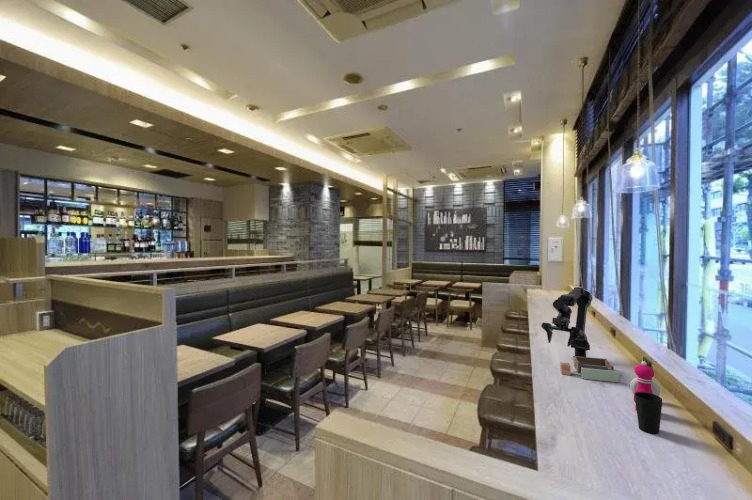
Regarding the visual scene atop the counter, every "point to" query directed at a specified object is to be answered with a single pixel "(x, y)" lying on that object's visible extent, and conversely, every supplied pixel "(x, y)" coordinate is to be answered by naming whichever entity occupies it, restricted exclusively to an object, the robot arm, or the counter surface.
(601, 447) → the counter surface
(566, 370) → the block
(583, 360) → the sleeve
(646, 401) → the cup
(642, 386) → the pepper mill
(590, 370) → the tray
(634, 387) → the donut
